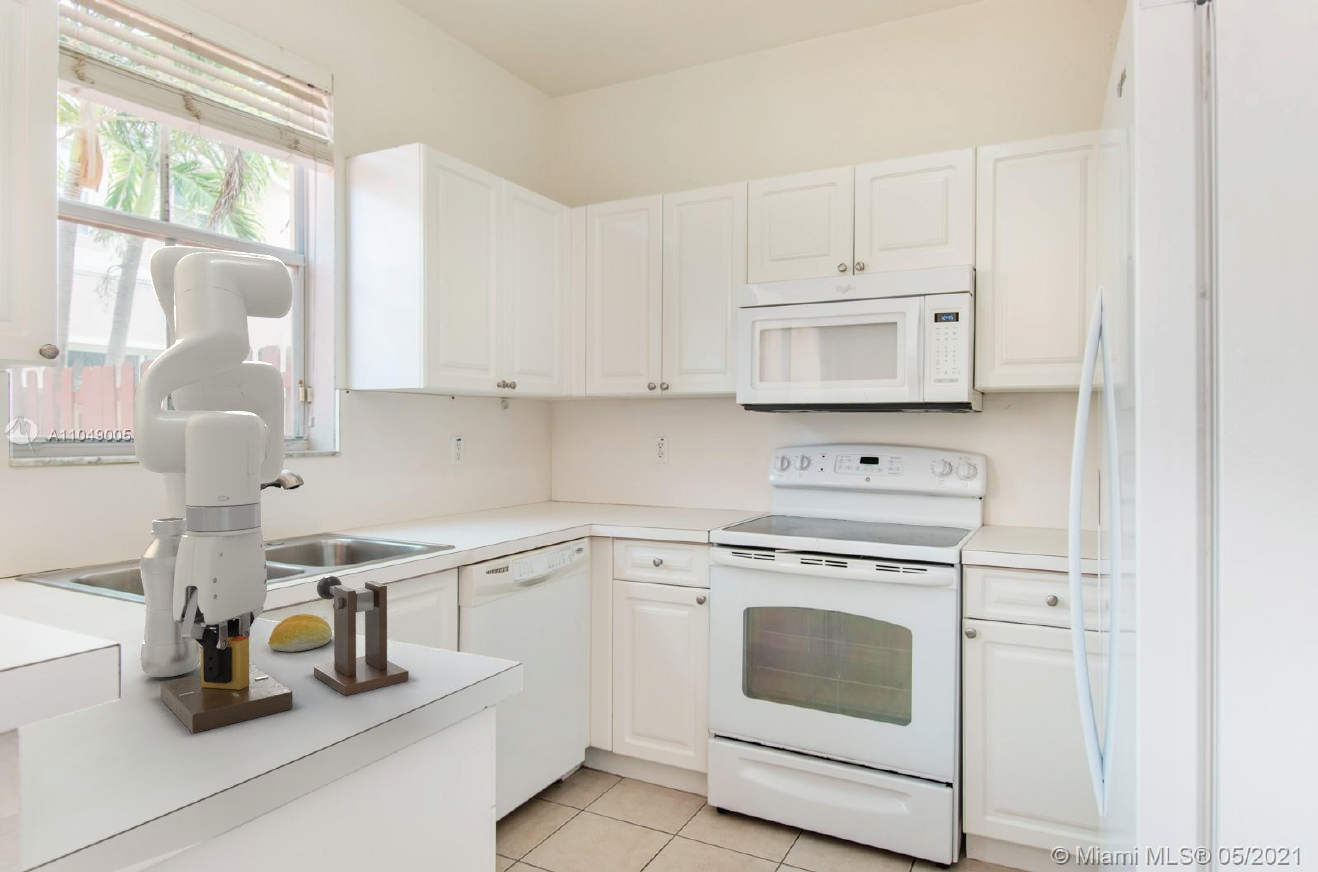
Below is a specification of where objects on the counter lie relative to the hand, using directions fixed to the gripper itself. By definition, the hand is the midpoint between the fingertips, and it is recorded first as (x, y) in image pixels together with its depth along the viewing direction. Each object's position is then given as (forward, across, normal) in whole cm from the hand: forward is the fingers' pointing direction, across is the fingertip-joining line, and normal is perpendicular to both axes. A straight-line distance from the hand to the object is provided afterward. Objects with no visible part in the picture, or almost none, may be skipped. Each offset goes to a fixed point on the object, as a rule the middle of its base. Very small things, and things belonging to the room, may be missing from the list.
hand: (225, 677), depth 89 cm
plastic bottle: (+3, -8, -14) cm, 16 cm away
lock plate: (+3, 0, 0) cm, 3 cm away
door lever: (-5, -14, +7) cm, 16 cm away
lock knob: (+1, 0, 0) cm, 1 cm away
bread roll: (+3, -23, -6) cm, 24 cm away
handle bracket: (+3, -11, +11) cm, 16 cm away
